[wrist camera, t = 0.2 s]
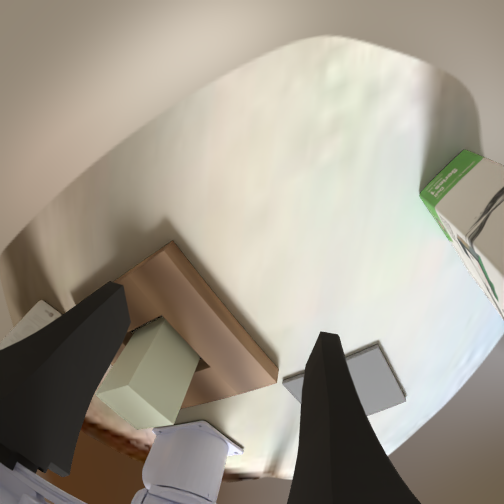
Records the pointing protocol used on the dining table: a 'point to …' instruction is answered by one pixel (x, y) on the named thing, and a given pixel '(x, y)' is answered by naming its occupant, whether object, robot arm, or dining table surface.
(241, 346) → the pocket block
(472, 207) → the ink box
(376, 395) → the rubber pad
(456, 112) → the dining table surface
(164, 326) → the sage block
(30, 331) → the skincare box
